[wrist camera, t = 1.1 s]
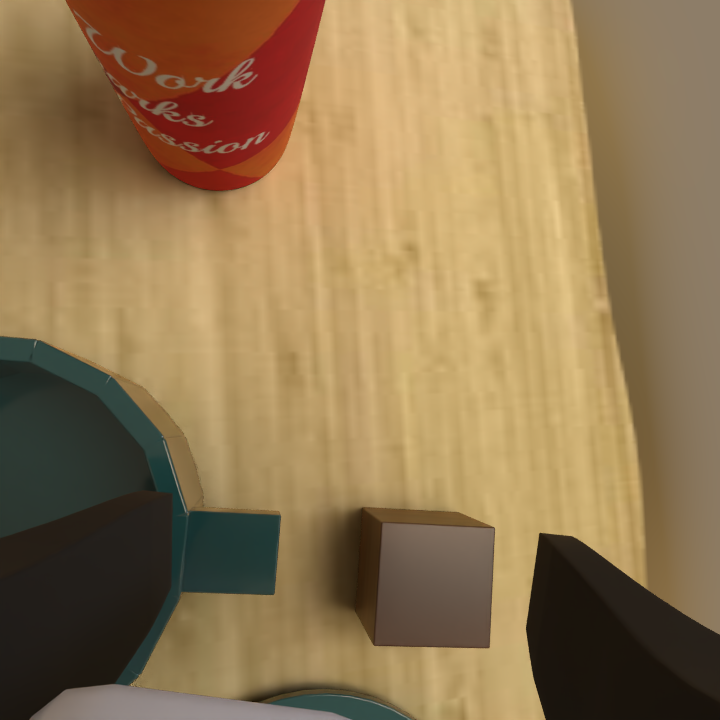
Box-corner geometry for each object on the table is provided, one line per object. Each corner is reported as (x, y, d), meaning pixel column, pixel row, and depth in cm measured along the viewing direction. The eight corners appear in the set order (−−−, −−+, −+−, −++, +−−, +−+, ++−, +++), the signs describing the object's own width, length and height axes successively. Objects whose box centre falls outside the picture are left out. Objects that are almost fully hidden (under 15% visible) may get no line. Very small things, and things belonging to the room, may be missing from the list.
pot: (259, 689, 24) (261, 772, 18) (-259, 683, 21) (-449, 778, 16) (286, 376, 25) (295, 361, 20) (-198, 336, 23) (-353, 305, 17)
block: (454, 614, 25) (490, 648, 22) (355, 611, 25) (373, 646, 21) (459, 512, 26) (495, 527, 22) (362, 506, 25) (381, 521, 21)
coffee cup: (64, 123, 25) (-210, -312, 10) (206, -15, 26) (143, -566, 12) (230, 263, 25) (195, 39, 11) (360, 120, 27) (486, -247, 12)
